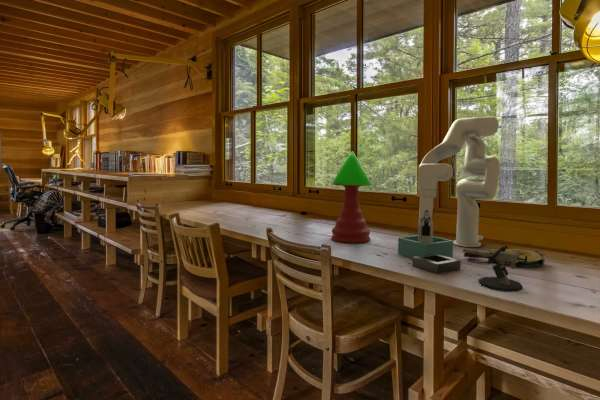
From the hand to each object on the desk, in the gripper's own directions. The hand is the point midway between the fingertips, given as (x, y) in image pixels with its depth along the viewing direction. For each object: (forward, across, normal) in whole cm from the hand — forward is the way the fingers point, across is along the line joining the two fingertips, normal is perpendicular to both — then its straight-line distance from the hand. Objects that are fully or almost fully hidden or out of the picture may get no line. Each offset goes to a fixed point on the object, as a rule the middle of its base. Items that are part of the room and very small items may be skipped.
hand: (425, 233), depth 163 cm
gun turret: (+10, +33, +20) cm, 40 cm away
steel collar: (+9, +19, +4) cm, 22 cm away
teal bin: (+9, 0, 0) cm, 9 cm away
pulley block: (+10, +3, +30) cm, 32 cm away
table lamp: (+10, -24, -35) cm, 44 cm away
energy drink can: (+8, 0, 0) cm, 9 cm away
